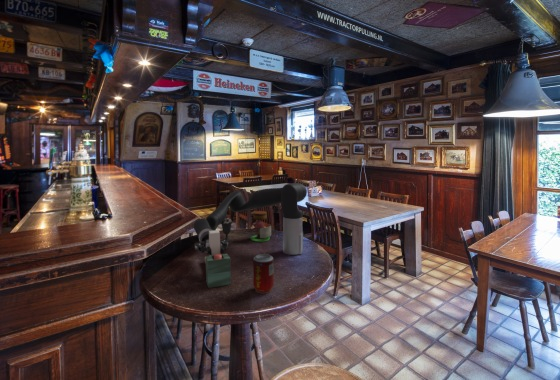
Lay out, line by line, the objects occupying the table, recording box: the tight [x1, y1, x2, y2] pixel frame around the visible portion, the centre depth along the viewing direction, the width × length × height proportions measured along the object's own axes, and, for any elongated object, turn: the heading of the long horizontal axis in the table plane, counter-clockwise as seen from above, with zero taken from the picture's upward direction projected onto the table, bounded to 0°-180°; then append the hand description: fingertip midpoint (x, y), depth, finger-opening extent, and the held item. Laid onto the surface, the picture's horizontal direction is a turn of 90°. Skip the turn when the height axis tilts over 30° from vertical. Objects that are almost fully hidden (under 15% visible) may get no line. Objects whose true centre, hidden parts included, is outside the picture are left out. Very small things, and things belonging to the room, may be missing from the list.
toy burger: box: [250, 210, 272, 243], centre depth 164 cm, size 12×13×15 cm
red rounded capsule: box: [214, 254, 222, 260], centre depth 109 cm, size 3×3×5 cm
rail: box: [204, 253, 232, 289], centre depth 119 cm, size 26×8×10 cm, turn 22°
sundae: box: [220, 212, 233, 242], centre depth 162 cm, size 7×7×15 cm
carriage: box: [209, 229, 221, 256], centre depth 115 cm, size 6×5×17 cm
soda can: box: [252, 253, 274, 294], centre depth 105 cm, size 7×7×12 cm
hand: (216, 251), depth 112 cm, fingers closed on carriage, 3 cm apart
